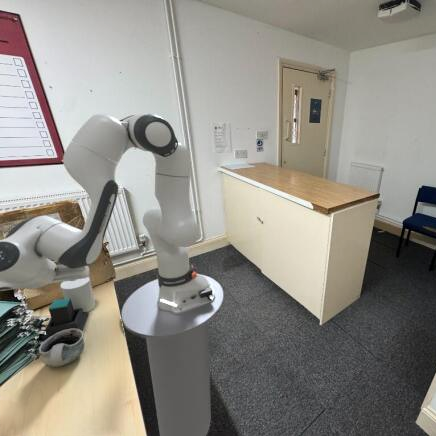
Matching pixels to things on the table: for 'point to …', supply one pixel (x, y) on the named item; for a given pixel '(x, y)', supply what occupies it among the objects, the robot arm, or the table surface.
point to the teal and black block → (62, 311)
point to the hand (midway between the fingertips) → (55, 281)
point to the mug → (62, 347)
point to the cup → (79, 293)
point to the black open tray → (77, 324)
